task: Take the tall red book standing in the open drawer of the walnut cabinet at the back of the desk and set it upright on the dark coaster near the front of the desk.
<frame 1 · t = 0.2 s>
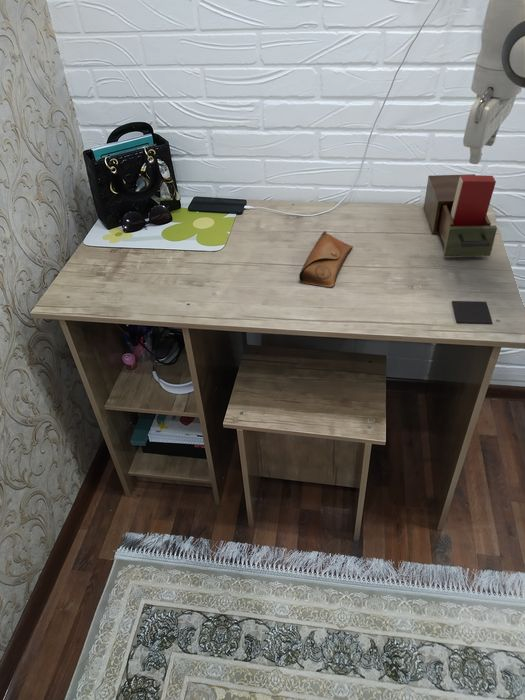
hand: (481, 153, 114), 26 cm above the table, tool pointing down, fingers open, 8 cm apart
cabinet: (450, 220, 146), on the table
book: (462, 237, 136), point 2 cm above the table, touching drawer
sunglasses case: (327, 264, 134), on the table
drawer: (466, 233, 133), point 5 cm above the table, slide at 10.0 cm, touching book
coaster: (471, 312, 118), on the table
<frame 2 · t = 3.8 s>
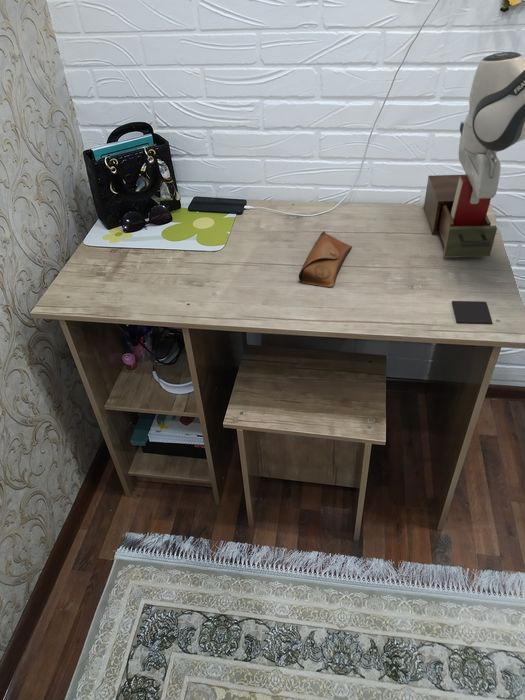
hand: (471, 197, 129), 13 cm above the table, tool pointing down, fingers closed on book, 3 cm apart
book: (462, 237, 136), point 2 cm above the table, touching drawer, gripper
everything else where it was.
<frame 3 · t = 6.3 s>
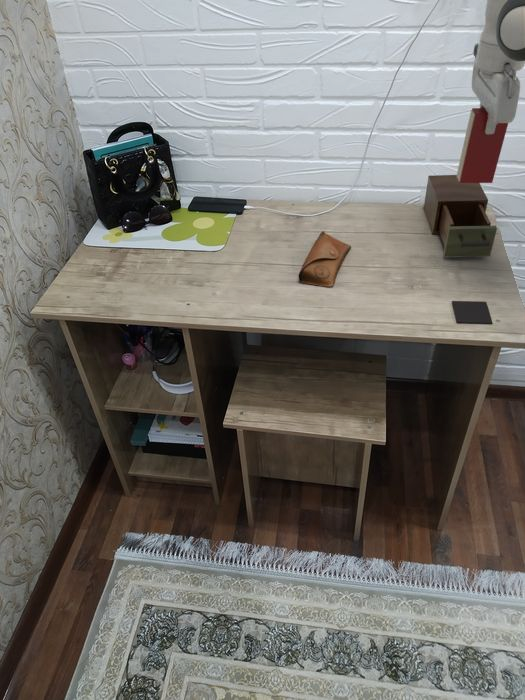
hand: (486, 128, 118), 28 cm above the table, tool pointing down, fingers closed on book, 3 cm apart
book: (474, 179, 126), point 17 cm above the table, touching gripper
drawer: (466, 233, 133), point 5 cm above the table, slide at 10.0 cm
everything else where it was.
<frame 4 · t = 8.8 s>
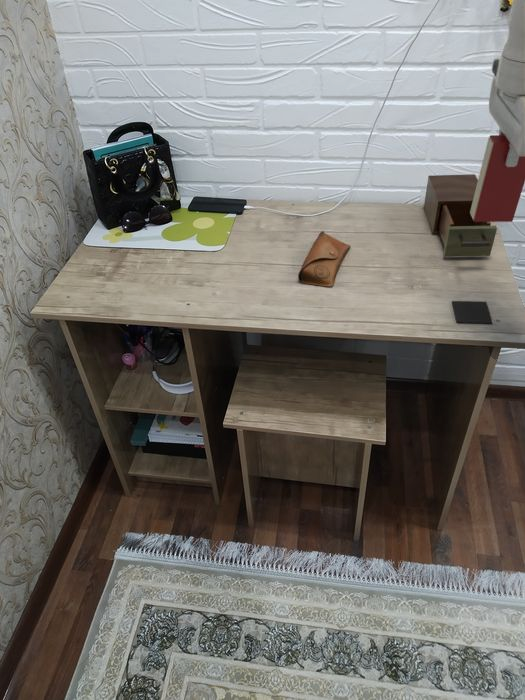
hand: (506, 159, 99), 32 cm above the table, tool pointing down, fingers closed on book, 3 cm apart
book: (491, 217, 107), point 21 cm above the table, touching gripper
everything else where it was.
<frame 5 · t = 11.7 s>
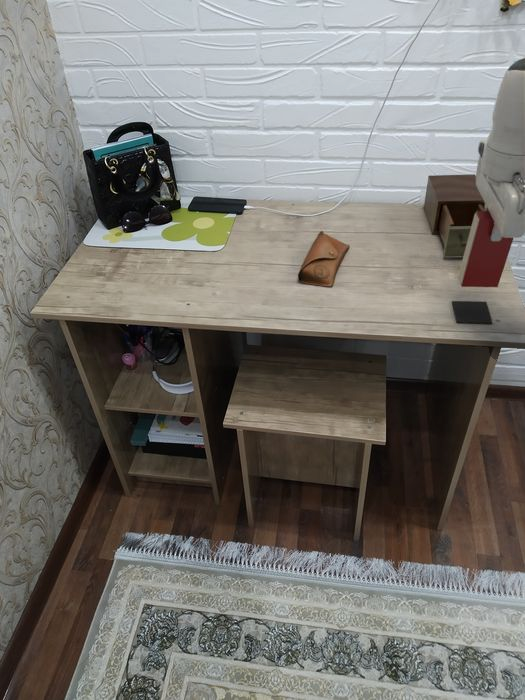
hand: (491, 232, 106), 19 cm above the table, tool pointing down, fingers closed on book, 3 cm apart
book: (477, 282, 113), point 8 cm above the table, touching gripper
everything else where it was.
when the fingers open (12 cm above the table, at t = 13.7 s): book stays where it is, resting on coaster.
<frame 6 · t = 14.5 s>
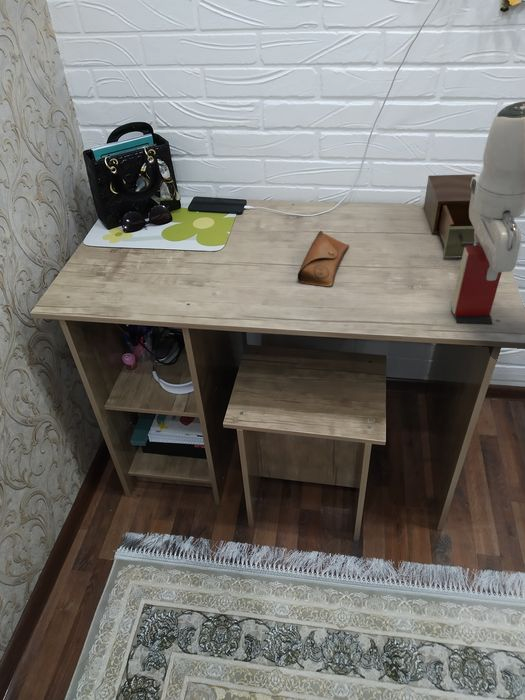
hand: (484, 264, 110), 12 cm above the table, tool pointing down, fingers open, 8 cm apart
book: (470, 311, 118), resting on coaster
everything else where it was.
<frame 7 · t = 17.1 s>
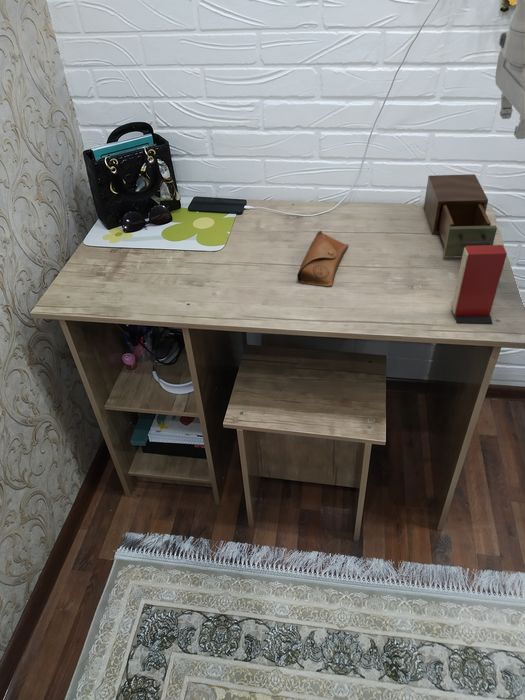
hand: (511, 127, 107), 33 cm above the table, tool pointing down, fingers open, 8 cm apart
nothing on the table moved.
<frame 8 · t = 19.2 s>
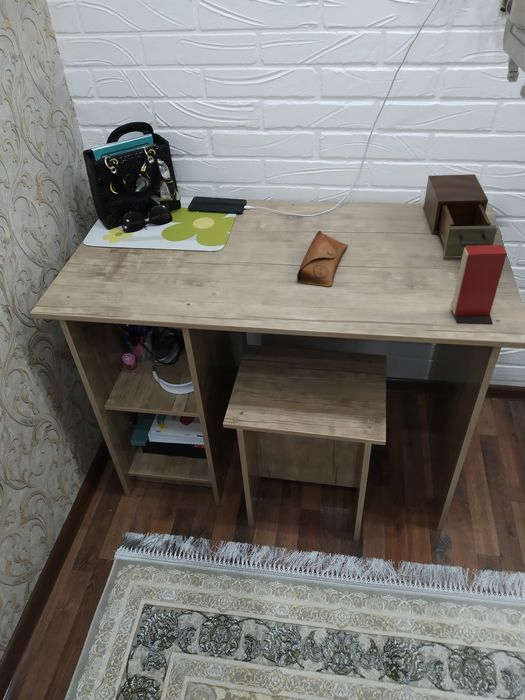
hand: (518, 88, 115), 35 cm above the table, tool pointing down, fingers open, 8 cm apart
nothing on the table moved.
at the end: book inside the target area on the coaster (0.4 cm from its centre), point 0.4 cm above the coaster's base; book tilted 0°; the gripper is holding nothing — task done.
